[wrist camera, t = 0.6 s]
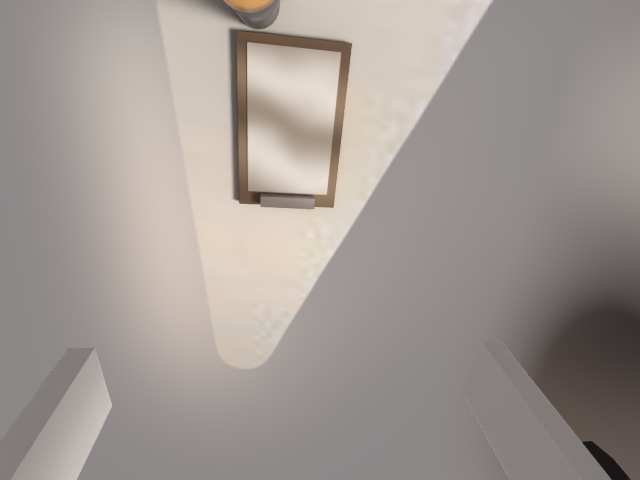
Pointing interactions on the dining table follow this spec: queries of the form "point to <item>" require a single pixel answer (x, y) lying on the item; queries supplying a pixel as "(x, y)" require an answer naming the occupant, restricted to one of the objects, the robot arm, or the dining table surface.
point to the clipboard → (290, 118)
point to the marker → (256, 11)
